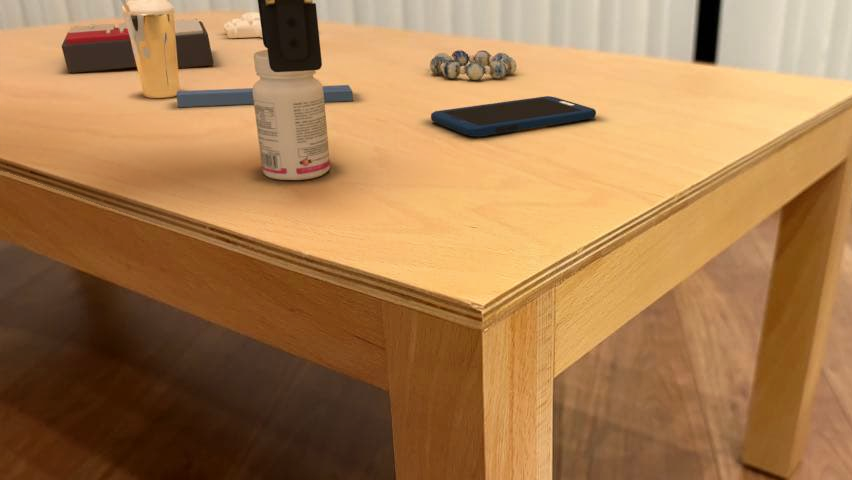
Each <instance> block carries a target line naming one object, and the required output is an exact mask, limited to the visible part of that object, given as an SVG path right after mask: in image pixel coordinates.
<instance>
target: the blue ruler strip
mask: <svg viewBox="0 0 852 480" xmlns="http://www.w3.org/2000/svg"><path fill="white" fill-rule="evenodd" d="M322 87H323V93H324V103H336V102H337V103H338V102H353V101H354V94H353V92H354V91H353V90H352V88H351V87H350V85H349V84H341V85H340V84H339V85H322ZM175 97H176V102H177V108H193V107H194V108H196V107H197V108H198V107H215V106H216V107H218V106H237V105H238V106H239V105H240V106H241V105H254V100H253V87H247V88H245V87H244V88H223V89H222V88H221V89H220V88H219V89H199V90H180V91H177V95H176V96H175Z"/></svg>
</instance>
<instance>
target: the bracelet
mask: <svg viewBox="0 0 852 480" xmlns="http://www.w3.org/2000/svg"><path fill="white" fill-rule="evenodd" d="M429 68H430V71H431V72H432V74H435V75H437V76H438V75H439V76H441V75H443V76H444V77H446V78H447V79H450V80H453V79H456V78H458V77H459V76H460V75H466V77H467V78H468V79H470V80H472V81H479V80H480V79H482V78H483V77H484V76H485V75H486V76H487V75H489V76H490V77H492V78H494V79H502V78H504V77H505V76H506V75H512V74H514V73H515V72H516V70H517V62H516V60H515V58H513V57H512V56H509V55H508V54H507V53H505V52H498V53H496V54H495V55H491V53H490V52H489V51H487V50H483V49H482V50H478V51H477V52H476V53H475V54H474V55H473V54H469V53H467V52H466V51H464V50H461V49H459V50H455V51H453V53H452V54H451V55H449V54H448V53H447V52H439V53H437V54H436V55H434V57H433V58H431V60H430V62H429Z"/></svg>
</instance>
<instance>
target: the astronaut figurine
mask: <svg viewBox="0 0 852 480" xmlns="http://www.w3.org/2000/svg"><path fill="white" fill-rule="evenodd" d="M222 27H223V31H224V33H225V34H227V38H228V39H237V38H239V39H244V38H247V39H248V38H261V39H263V37H262V29H261V22H260V14H259V11H252V12H245V13H243V14H241V16H240V17H236V18H233V19H231V21H230V20H228V21H226V22H225V23H224V24H223V26H222Z"/></svg>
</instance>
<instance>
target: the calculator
mask: <svg viewBox="0 0 852 480" xmlns="http://www.w3.org/2000/svg"><path fill="white" fill-rule="evenodd" d="M175 35H176V49H177V61H178V69H186V68H187V69H189V68H197V67H207V66H208V67H209V66H213V65H214V59H213V54H212V48H211V42H210V38H209V33H208V31H207V29H206V27H205V25H204V23H203V22H202V21H201V20H200V21H199V20H198V19H197V18H189V19H178V20H176V19H175ZM64 37H65V38H64V40H63V42H62V44H61V50H62V54H63V58H64V62H65V65H66V69H67V72H68V73H69V74H76V73H87V72H96V71H107V70H118V69H128V68H130V69H131V68H137V65H136V61H135V57H134V53H133V49H132V45H131V41H130V37H129V34H128V30H127V27H126V23H125V22H120V23H118V27H116V26H115V23H105V24H104V23H103V24H89V25H79V26H78V25H77V26H71V27H70V28H69V30H68V32H67V33H66V35H65V36H64Z"/></svg>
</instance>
